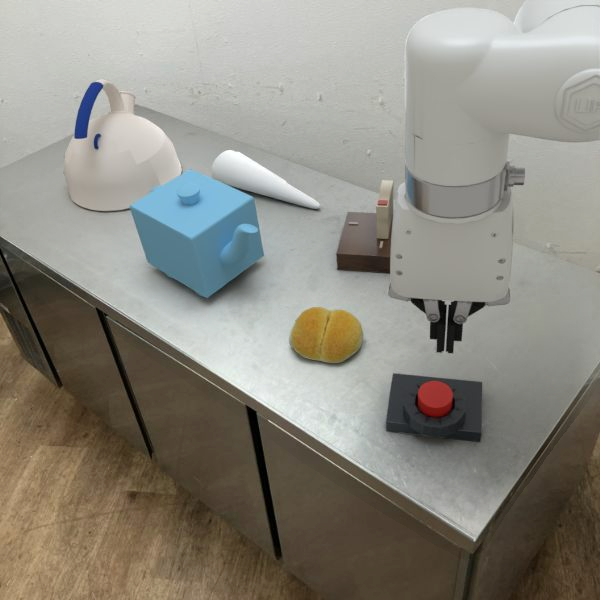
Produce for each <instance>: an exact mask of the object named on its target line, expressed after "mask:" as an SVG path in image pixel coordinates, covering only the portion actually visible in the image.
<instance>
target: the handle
mask: <svg viewBox="0 0 600 600" xmlns="http://www.w3.org/2000/svg"><path fill="white" fill-rule="evenodd" d="M375 207H376V208H375V213H376V223H377V238H378V239H388V237H389V232H390V227H391V222H392V217H393V212H394V180H388V179H387V180H385V179H382V180H381V184H380V188H379V191H378V197H377V200H376V205H375Z"/></svg>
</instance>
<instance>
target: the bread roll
mask: <svg viewBox="0 0 600 600" xmlns="http://www.w3.org/2000/svg"><path fill="white" fill-rule="evenodd" d="M288 341H289V344H290V347H292V349H293V350H294V351H295V352H296V353H297V354H298V355H299V356H301V357H303V358H305V359H309V360H313V361H320V362H321V361H322V362H324V363H329V364H339V363H342V362H345V361H346V360H347V359H349V358H350V357H352V356H353V355H355V354H356V353H357V352H358V351H359V350H360V349H361V347H362V345H363V341H364V330H363V326H362V324H361V322H360V321H359V319H358V318H357V317H356V316H354V315H353V314H352V313H350V312H349V311H347V310H345V309H340V308H339V309H332V310H330V309H327V308H325V307H321V306H311V307H309V308H306V309H305V310H304V311H302V312H301V313H300V315H298V316H297V318H296V319H295V321H294V322H293V325H292V328H291V330H290V332H289V337H288Z"/></svg>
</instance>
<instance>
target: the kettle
mask: <svg viewBox="0 0 600 600" xmlns="http://www.w3.org/2000/svg"><path fill="white" fill-rule="evenodd" d="M102 90H103V91H104V92H105V95H106V97H107V99H108V102H109V107H110V111H109V112H107V113H105V114H101V115H98V116H96V117H94V118H92V119H90V118H91V114H92V111H93V108H94V105H95V102H96V100H97V99H98V96H99V94H100V93H101V91H102ZM136 98H137V97H136V96H135V94H134V93H132V92H131V91H128V90H120V91H119V88H118V87H117V86H116V85H115V84H114V82H112V81H110V80H107V79H105V78H100V79H97V80H95V81H94V82H91V83H90V84H89V86H88V87H87V88H86V90H85V92H84V95H83V97H82V99H81V101H80V105H79V107H78V109H77V114H76V119H75V125H74V134H73V136H72V138H71V139H70V141H69V144H68V146H67V148H66V149H65V152H64V160H63V161H64V164H63V176H64V180H65V183H66V187H67V191H68V195H69V197H70V199H71V201H72V202H74V203H75V204H77V205H78V206H79V207H82V208H83V209H84V208H85V209H88V210H91V211H96V212H117V211H119V212H120V211H125V210H130V207H129V206H130V205H131V204H133V203H135V202H136V201H138V200H140V199H141V198H143V197H144V196H146V195H148V194H149V193H150V191H151V190H152V189H153V188H154V187H156V186H159V185H164V184H166V183H168V182H169V181H171V180H173V179H174V178H176V177H178V176H180V175H181V174H182V171H183V169H182V164H181V161H180V160H179V156H178V155H177V152H176V149H175V146H174V143H173V142H172V140H171V139H170V138H169V137H168V136H167V134H166V133H165V132H164V131H163V129H161V127H159V126H158V125H156V124H155V123H153V122H152V121H150V120H149V119H146V118H145V117H143V116H139V115H135V104H136V103H135V100H136Z"/></svg>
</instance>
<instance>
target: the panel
mask: <svg viewBox="0 0 600 600" xmlns="http://www.w3.org/2000/svg"><path fill="white" fill-rule="evenodd" d="M392 223H393V217H392V222H391V227H390V232H389V237H388V239H378V238H377V223H376V212H362V211H361V212H359V211H347V214H346V216H345V220H344V223H343V227H342V231H341V235H340V237H339V242H338V245H337V249H336V253H335V255H336V257H335V258H336V269H337V270H339V271H350V272H351V271H353V272H368V273H369V272H370V273H380V274H381V273H384V274H390V254H391V235H392Z"/></svg>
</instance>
